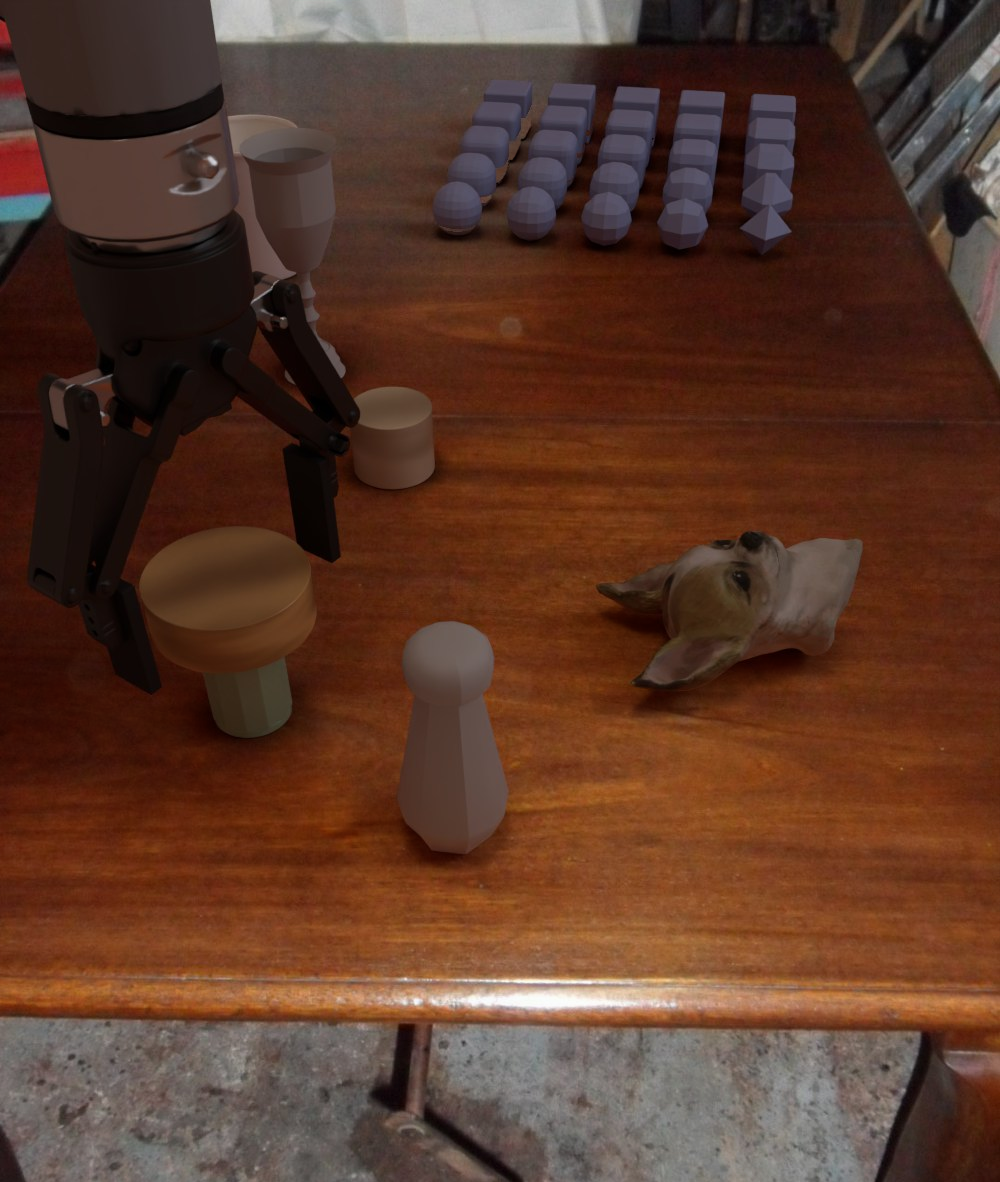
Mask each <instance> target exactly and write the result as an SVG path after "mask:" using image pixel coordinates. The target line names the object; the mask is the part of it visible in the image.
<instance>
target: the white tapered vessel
mask: <svg viewBox="0 0 1000 1182" xmlns="http://www.w3.org/2000/svg"><path fill="white" fill-rule="evenodd" d="M227 116H228V122H229V129H230V135H231V142H232V148H233V155H234V161H235V167H236V174H237V180H238V187H239V193H240V195H239V201H238V204H237V205H236V207H235V208H234V210H235V211H236V212H237V213H238V214H239V215H240V216H241V217H242V218H243V220H244V223H245V228H246V235H247V241H248V248H249V254H250V260H251V267H252V272H255V271H259V272H262V273H265V274H268V275H271V276H274V277H277V278H280V279H283V280H287V279H289V278H291V277H293V276H295V275H297V274H296V272H292V271H289V270H287V269H286V268H285V267H284V266H283V264H282V262H281V261H280V259H279V258H278V256H277V255H276V253H275V252H274V250H273V249H272V247H271V246H270V244H269V242H268V241H267V239H266V237H265V235H264V233H263V231H262V229H261V227H260V225H259V223H258V221H257V219H256V214H255V207H254V200H253V193H252V186H251V179H250V172H249V165H248V164H247V162H246V161H245V159H244V158H243V156H242V154H241V153H240V151H239V147H240V144H241V143H242V142H243V141H244V140H246V139H248V138H250V137H251V136H253V135H256V134H259V133H262V132H266V131H271V130H276V129H284V128H299V127H298V126H297V124H295V123H294V122H292V121H291V120H288V119H286V118H283V117H278V116H276V115H275V116H274V115H268V114H237V115H236V114H235V115H227Z"/></svg>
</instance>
